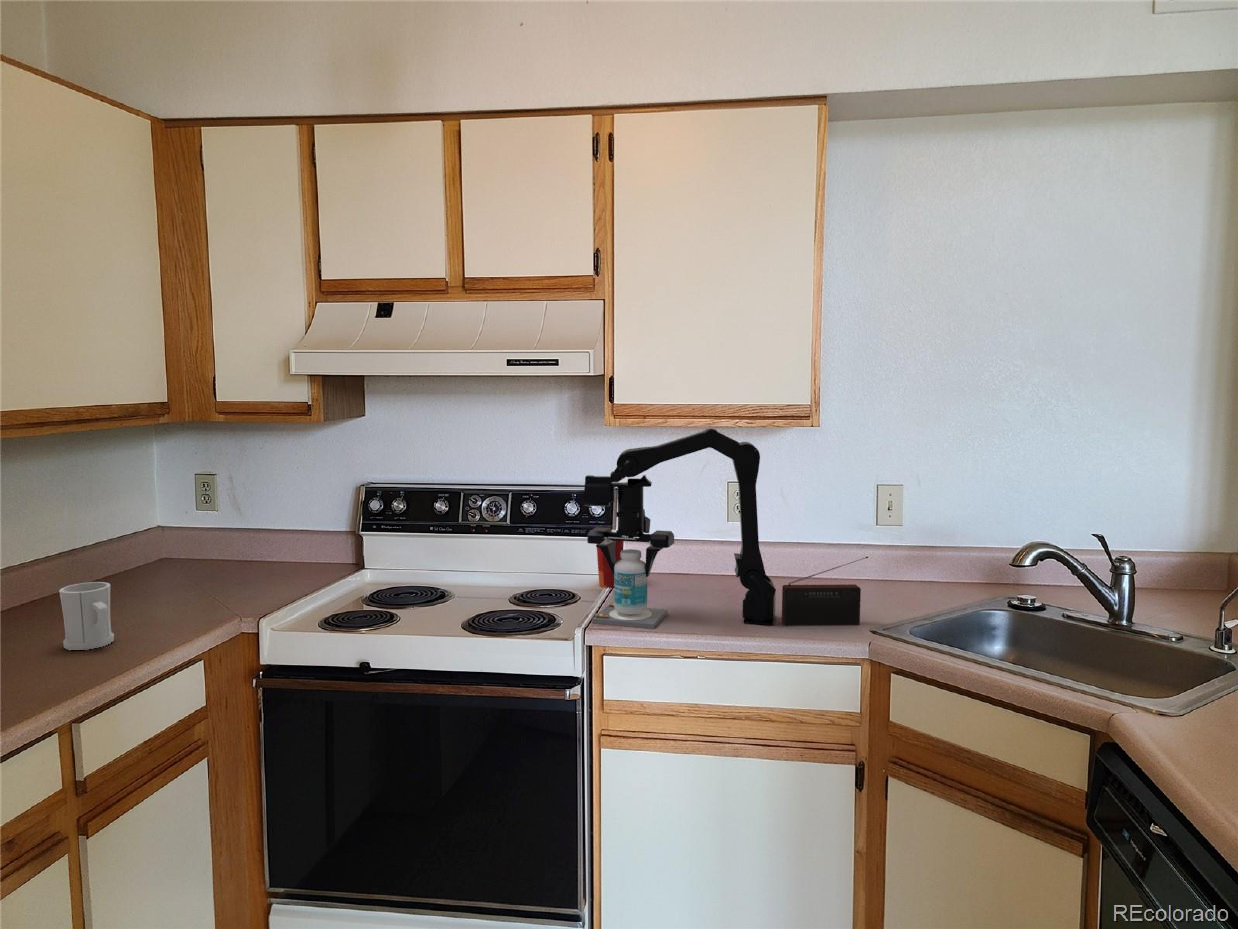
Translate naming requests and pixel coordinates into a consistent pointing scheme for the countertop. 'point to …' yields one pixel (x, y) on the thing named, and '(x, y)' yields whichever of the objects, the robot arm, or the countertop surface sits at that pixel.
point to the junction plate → (630, 617)
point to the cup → (86, 615)
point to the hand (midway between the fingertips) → (630, 575)
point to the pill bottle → (630, 583)
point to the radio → (821, 604)
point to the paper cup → (607, 565)
